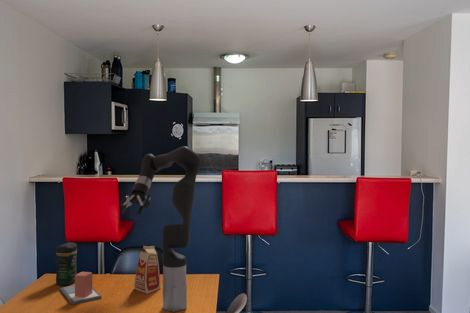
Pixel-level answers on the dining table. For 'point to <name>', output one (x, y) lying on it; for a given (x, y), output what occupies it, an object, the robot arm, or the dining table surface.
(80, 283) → the pink rectangular block
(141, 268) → the milk carton
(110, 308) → the dining table surface
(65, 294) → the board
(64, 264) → the coffee jar
